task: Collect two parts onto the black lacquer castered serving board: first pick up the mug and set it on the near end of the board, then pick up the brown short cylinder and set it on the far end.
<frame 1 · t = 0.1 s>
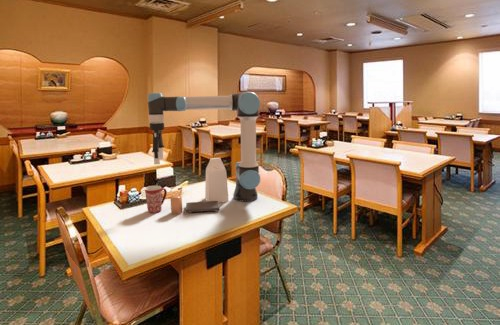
hand: (159, 161, 176), 28 cm above the table, fingers open, 13 cm apart
brown short cylinder: (177, 212, 178), on the table
milk: (216, 199, 200), on the table
mug: (157, 210, 182), on the table
board: (202, 209, 183), on the table
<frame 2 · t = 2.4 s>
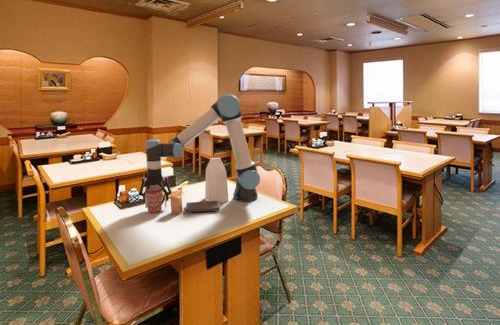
hand: (156, 206, 181), 2 cm above the table, fingers closed on mug, 10 cm apart
mug: (157, 210, 182), on the table, touching gripper
everything else where it was.
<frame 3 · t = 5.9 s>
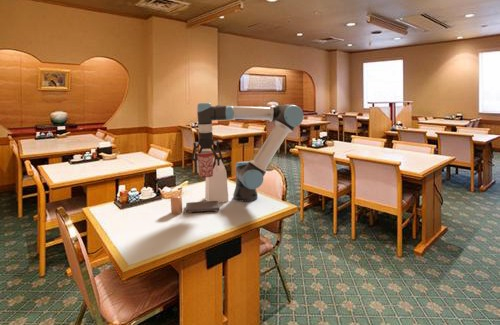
hand: (207, 171, 180), 21 cm above the table, fingers closed on mug, 10 cm apart
mug: (208, 175, 180), point 19 cm above the table, touching gripper
everything else where it was.
when the fingers open (6 cm above the table, at t = 9.6 s): mug drops 1 cm, resting on board.
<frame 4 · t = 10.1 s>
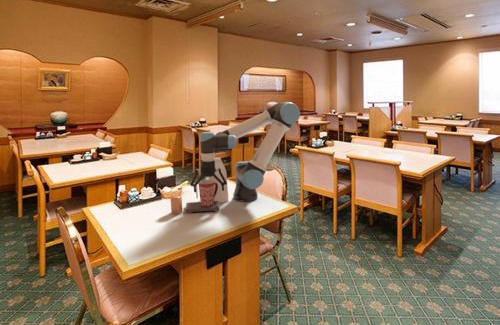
hand: (209, 197, 183), 7 cm above the table, fingers open, 13 cm apart
mug: (209, 204, 184), point 2 cm above the table, touching board
everything else where it was.
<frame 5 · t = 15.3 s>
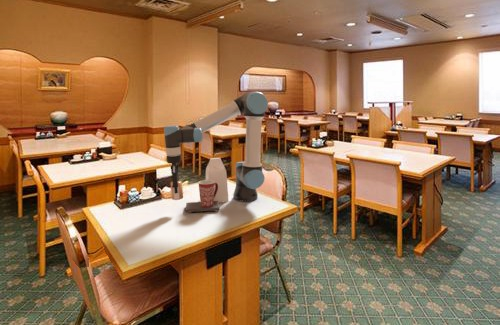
hand: (177, 196, 176), 9 cm above the table, fingers closed on brown short cylinder, 6 cm apart
brown short cylinder: (177, 198, 176), point 8 cm above the table, touching gripper
everything else where it was.
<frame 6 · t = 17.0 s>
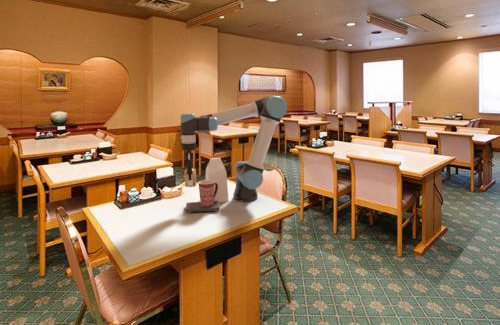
hand: (190, 184, 179), 15 cm above the table, fingers closed on brown short cylinder, 6 cm apart
brown short cylinder: (190, 185, 179), point 14 cm above the table, touching gripper
everything else where it was.
when the fingers open (3 cm above the table, at t = 19.3 s): brown short cylinder stays where it is, resting on board.
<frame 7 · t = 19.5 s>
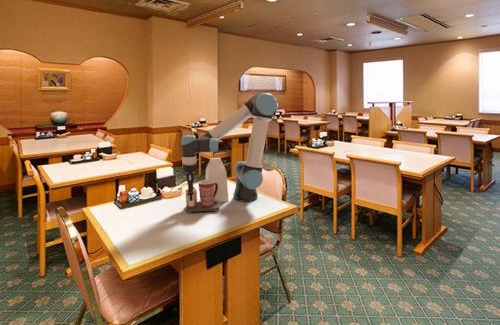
hand: (191, 203, 181), 4 cm above the table, fingers open, 9 cm apart
brown short cylinder: (191, 205, 182), point 2 cm above the table, touching board
everything else where it was.
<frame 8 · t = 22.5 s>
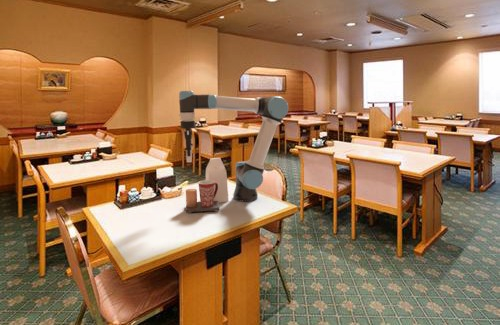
hand: (189, 159, 176), 29 cm above the table, fingers open, 13 cm apart
nothing on the table moved.
at the end: mug touching board; brown short cylinder touching board; mug tilted 0° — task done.
